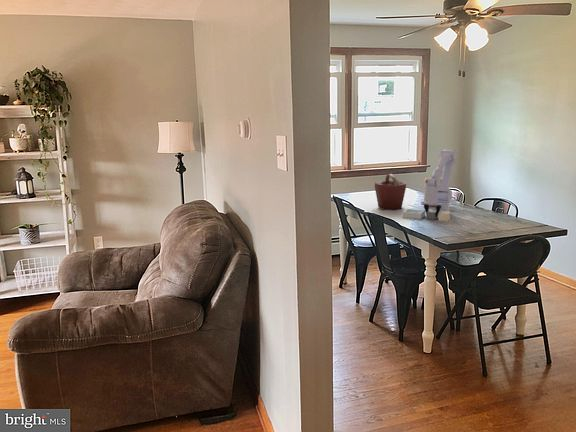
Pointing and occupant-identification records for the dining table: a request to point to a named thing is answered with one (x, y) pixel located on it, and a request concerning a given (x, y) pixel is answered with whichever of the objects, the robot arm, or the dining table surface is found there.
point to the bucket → (390, 193)
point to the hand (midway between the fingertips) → (432, 216)
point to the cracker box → (426, 190)
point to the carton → (444, 216)
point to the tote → (413, 213)
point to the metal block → (431, 215)
